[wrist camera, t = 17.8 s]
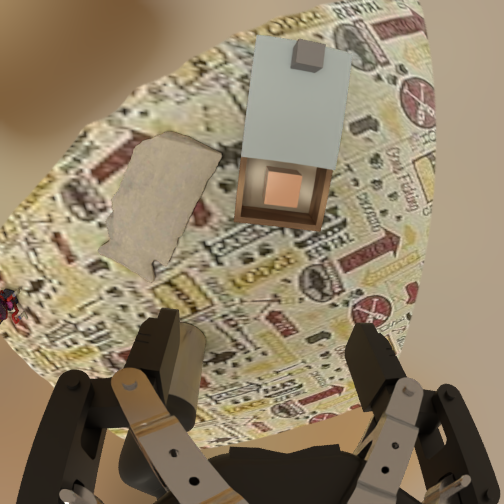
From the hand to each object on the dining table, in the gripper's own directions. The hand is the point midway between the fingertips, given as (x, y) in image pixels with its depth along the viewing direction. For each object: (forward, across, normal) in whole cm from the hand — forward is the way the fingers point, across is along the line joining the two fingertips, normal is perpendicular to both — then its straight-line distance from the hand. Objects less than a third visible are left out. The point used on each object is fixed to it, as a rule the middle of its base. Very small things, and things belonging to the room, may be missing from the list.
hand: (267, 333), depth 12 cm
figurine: (+33, +54, +31) cm, 70 cm away
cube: (+32, -4, 0) cm, 33 cm away
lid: (+27, -4, -12) cm, 30 cm away
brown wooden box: (+33, -4, -3) cm, 33 cm away
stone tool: (+34, +15, +6) cm, 37 cm away
